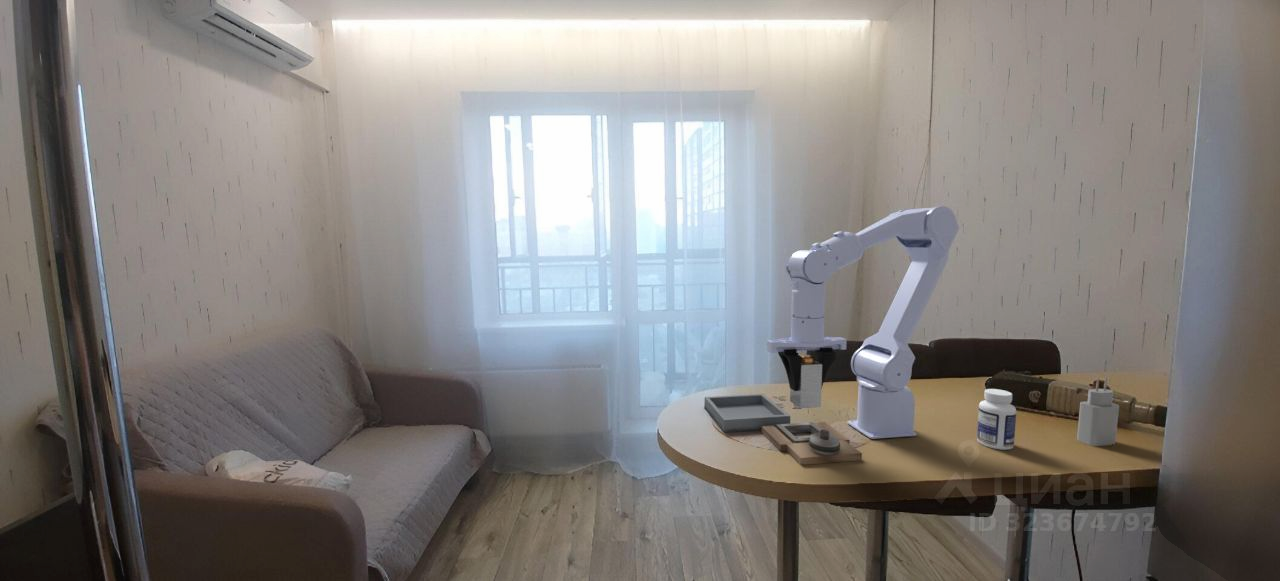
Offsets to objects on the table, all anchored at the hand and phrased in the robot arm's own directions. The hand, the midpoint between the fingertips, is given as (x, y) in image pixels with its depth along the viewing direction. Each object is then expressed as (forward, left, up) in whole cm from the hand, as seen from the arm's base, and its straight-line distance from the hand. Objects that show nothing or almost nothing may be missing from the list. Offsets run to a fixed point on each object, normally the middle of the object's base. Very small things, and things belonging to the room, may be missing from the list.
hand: (805, 388), depth 87 cm
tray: (+7, -12, -10) cm, 17 cm away
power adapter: (-52, +10, -10) cm, 54 cm away
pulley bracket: (0, +3, -10) cm, 10 cm away
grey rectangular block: (0, 0, -3) cm, 3 cm away
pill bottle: (-33, +8, -10) cm, 35 cm away
